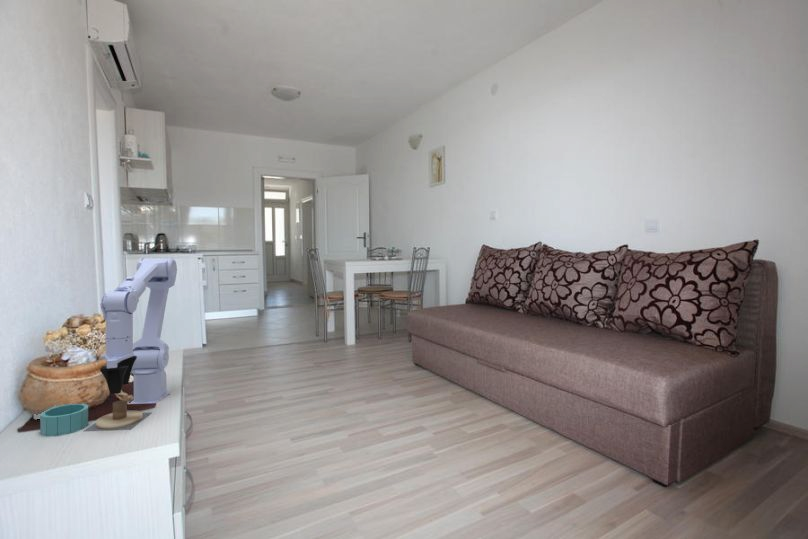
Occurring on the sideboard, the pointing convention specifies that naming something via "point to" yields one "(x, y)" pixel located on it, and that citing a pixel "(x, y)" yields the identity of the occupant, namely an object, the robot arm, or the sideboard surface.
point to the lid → (119, 417)
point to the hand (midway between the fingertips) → (119, 388)
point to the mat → (94, 428)
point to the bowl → (63, 419)
